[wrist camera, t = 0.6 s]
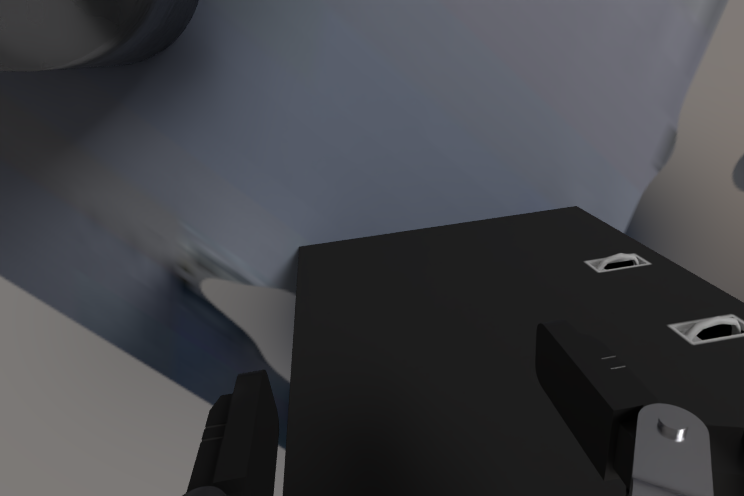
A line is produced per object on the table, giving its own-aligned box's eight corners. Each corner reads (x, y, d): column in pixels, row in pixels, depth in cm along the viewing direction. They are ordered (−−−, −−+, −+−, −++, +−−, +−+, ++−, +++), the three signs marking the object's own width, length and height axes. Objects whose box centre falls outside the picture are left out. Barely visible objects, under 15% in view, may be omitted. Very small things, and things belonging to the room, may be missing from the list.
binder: (317, 362, 48) (325, 837, 19) (297, 232, 42) (263, 631, 13) (563, 328, 50) (911, 707, 21) (576, 199, 44) (1085, 479, 15)
